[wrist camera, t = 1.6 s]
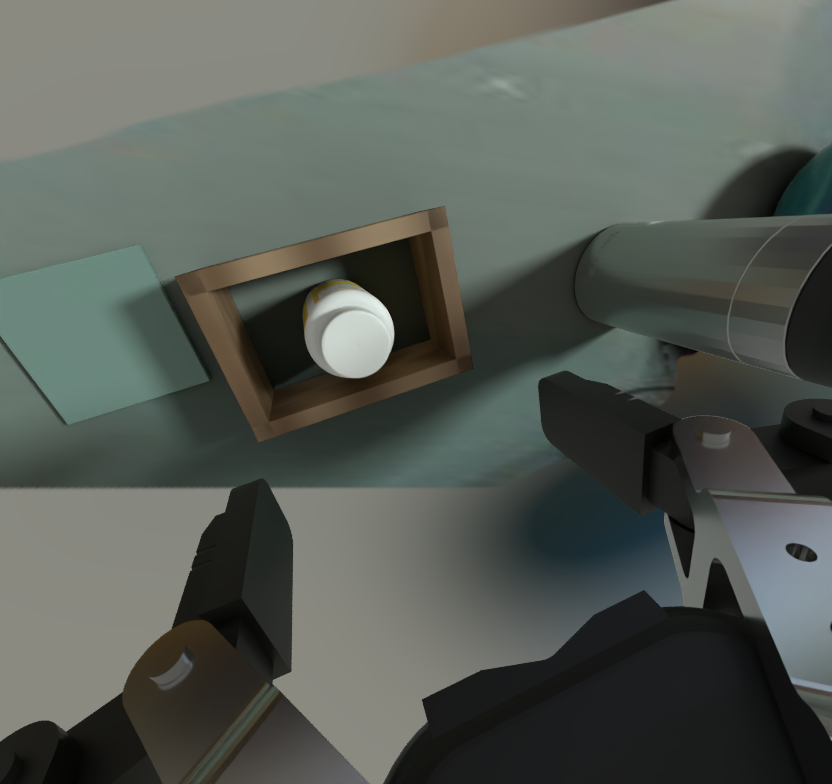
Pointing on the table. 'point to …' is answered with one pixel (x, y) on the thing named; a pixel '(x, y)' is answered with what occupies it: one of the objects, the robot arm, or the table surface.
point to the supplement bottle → (346, 329)
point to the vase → (809, 188)
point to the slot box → (329, 392)
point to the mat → (98, 333)
